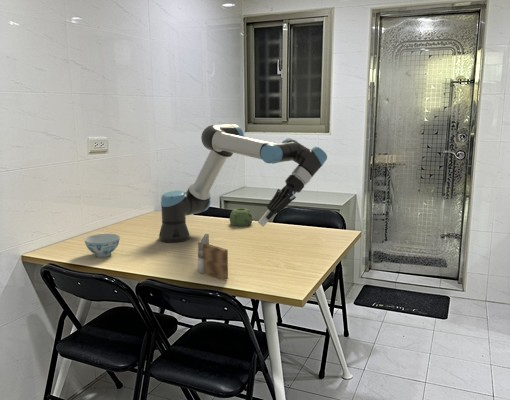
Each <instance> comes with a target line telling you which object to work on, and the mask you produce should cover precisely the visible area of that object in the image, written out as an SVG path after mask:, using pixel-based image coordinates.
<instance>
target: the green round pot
mask: <svg viewBox="0 0 510 400" xmlns="http://www.w3.org/2000/svg"><path fill="white" fill-rule="evenodd" d="M229 221H230V222H229V223H230V224H231V225H232V226H235V227H247V226H250V225H251V224H252V223H253V216H252V213H251V211H250V209H249V208H243V207H237V208H235V209H232V211H231V212H230V215H229Z"/></svg>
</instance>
